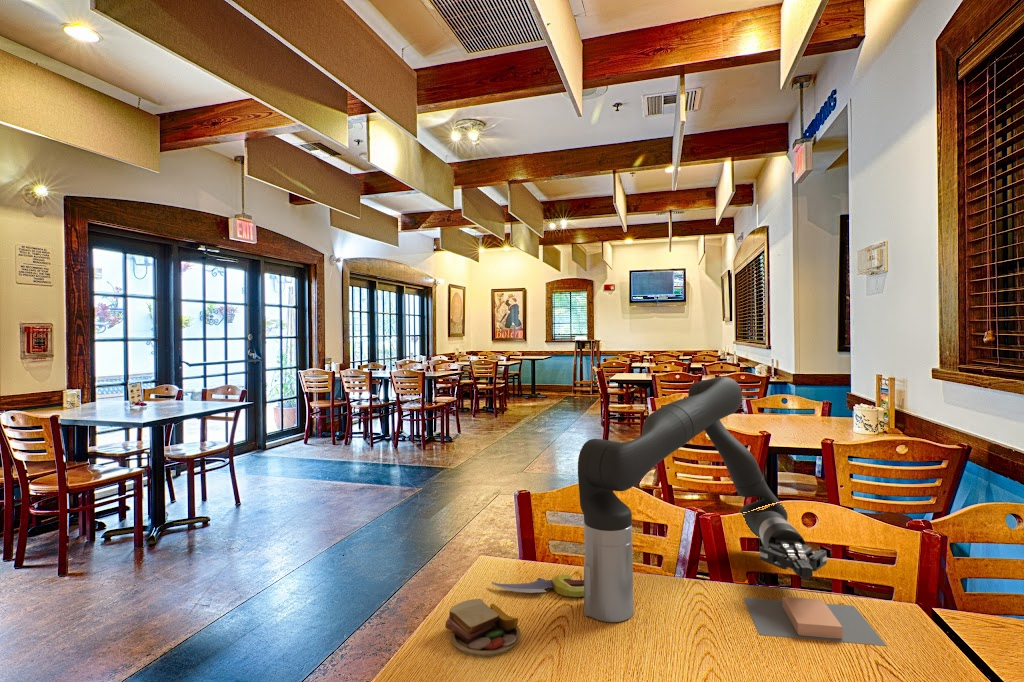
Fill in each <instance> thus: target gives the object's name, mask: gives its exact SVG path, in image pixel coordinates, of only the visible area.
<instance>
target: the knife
mask: <svg viewBox="0 0 1024 682" xmlns="http://www.w3.org/2000/svg"><path fill="white" fill-rule="evenodd" d="M490 582H491V584H492V585H493V586H495V587H498V588H501V589H504V590H506V591H510V592H516V593H528V594H529V593H530V594H531V593H547V590H545V589H548V588H552V589H553V590H554V592H556V593H557V594H558V595H561V596H564V597H567V598H584V579H574V578H573V577H572V576H571V575H569V574H559V575H555V576H553V577H552V578H551V579H544V578H541V577H538V578H537V579H536V581H532V582H526V583H497V582H494V581H490Z"/></svg>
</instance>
